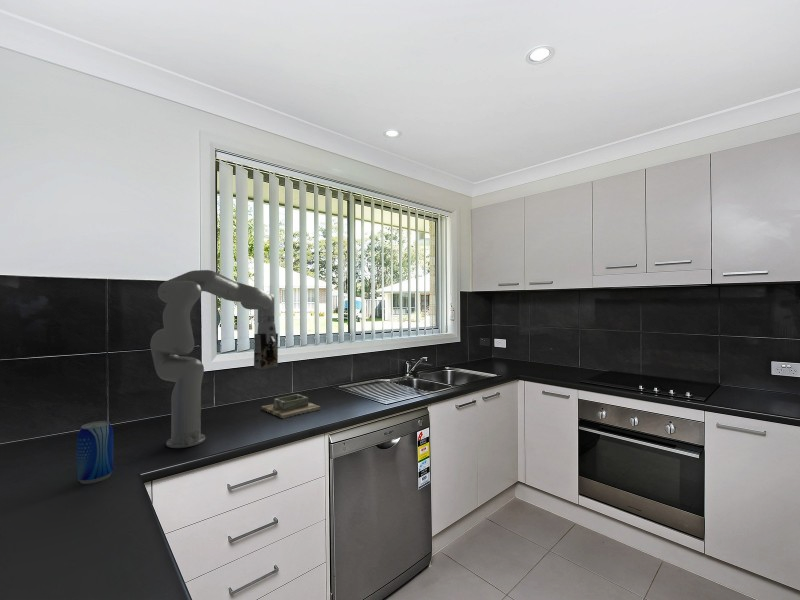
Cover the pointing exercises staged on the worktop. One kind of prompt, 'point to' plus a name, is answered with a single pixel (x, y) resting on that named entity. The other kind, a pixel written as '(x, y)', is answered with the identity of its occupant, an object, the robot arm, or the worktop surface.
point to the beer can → (94, 452)
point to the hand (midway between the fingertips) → (266, 356)
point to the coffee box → (264, 353)
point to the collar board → (290, 406)
